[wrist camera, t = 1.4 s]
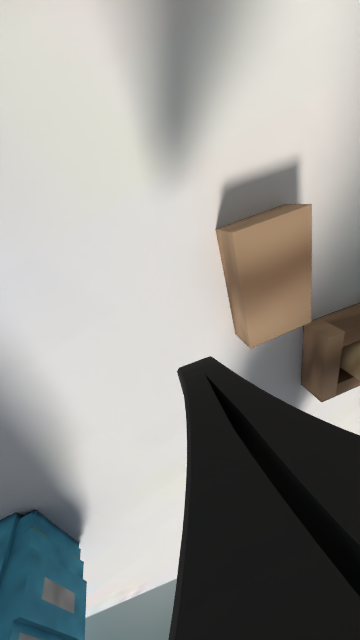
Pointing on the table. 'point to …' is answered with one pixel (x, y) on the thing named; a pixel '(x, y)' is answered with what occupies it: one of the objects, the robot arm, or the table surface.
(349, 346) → the dowel
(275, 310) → the tan wooden slab
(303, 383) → the socket
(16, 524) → the teal coffee bag
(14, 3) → the table surface
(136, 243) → the table surface
